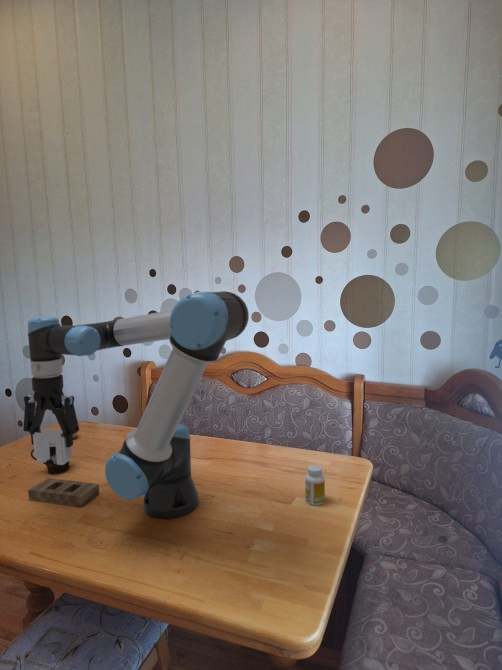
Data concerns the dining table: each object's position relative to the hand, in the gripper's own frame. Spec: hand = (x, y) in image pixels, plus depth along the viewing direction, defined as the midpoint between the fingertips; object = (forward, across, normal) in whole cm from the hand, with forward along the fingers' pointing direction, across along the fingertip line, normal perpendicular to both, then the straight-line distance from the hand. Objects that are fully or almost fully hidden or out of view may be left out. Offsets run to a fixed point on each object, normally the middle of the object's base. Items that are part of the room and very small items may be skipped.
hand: (53, 456), depth 115 cm
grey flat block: (+15, -3, +7) cm, 17 cm away
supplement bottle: (+15, +70, +17) cm, 74 cm away
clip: (+1, 0, 0) cm, 1 cm away
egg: (+16, -32, +51) cm, 62 cm away
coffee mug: (+16, -18, +23) cm, 33 cm away
